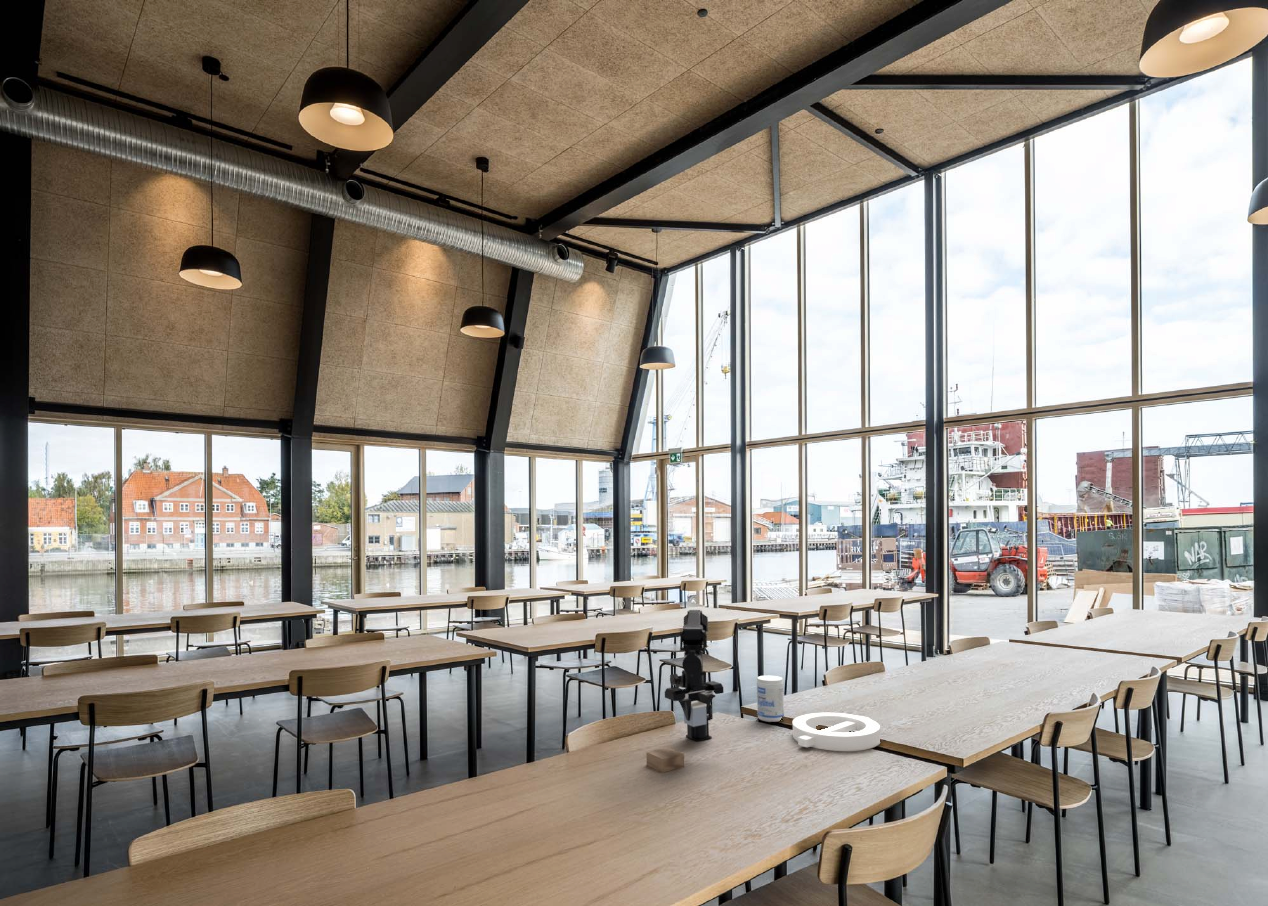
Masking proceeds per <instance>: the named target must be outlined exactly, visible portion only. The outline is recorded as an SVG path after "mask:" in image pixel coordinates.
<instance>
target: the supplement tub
mask: <svg viewBox="0 0 1268 906" xmlns="http://www.w3.org/2000/svg"><path fill="white" fill-rule="evenodd" d="M756 679H757V680H756V705H757V712H756V713H757V718H758V719H759V720H760V721H763V722H768V723H771V722H774V723H776V722H777V723H778V722H781V721H782V720H781V718H782V716H784V717H785V707H784V705H785V704H784V702H785V699H784V698H785V697H784V681H783V677H782V676H777V675H768V674H767V675H760V676H757V678H756ZM780 720H781V721H780Z"/></svg>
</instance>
